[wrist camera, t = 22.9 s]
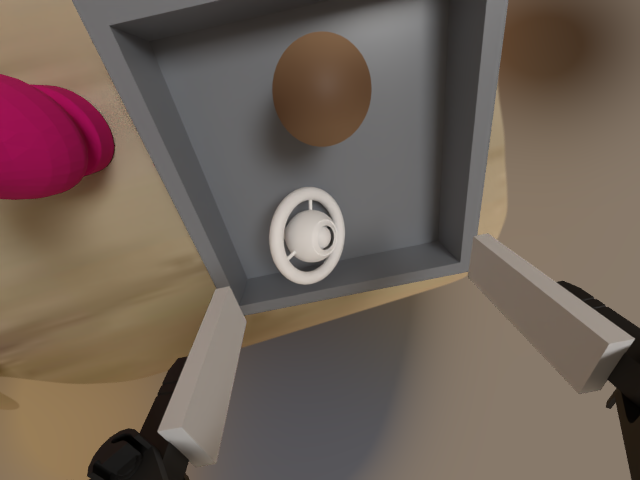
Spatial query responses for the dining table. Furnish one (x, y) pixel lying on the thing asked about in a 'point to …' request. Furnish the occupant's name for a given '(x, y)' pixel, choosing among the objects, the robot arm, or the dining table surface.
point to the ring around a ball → (307, 235)
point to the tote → (300, 158)
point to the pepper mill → (48, 140)
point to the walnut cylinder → (321, 89)
